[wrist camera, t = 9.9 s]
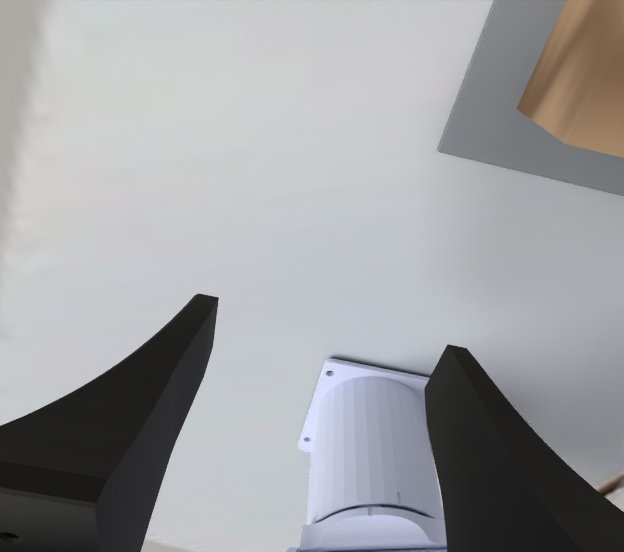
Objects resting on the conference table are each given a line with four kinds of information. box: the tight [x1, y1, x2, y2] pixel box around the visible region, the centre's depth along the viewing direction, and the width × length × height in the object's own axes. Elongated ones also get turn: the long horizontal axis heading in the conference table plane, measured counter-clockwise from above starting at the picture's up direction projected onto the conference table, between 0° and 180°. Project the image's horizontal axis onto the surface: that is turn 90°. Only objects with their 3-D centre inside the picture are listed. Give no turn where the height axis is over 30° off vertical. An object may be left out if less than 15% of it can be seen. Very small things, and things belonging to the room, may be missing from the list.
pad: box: [437, 0, 624, 196], centre depth 18 cm, size 10×10×1 cm
